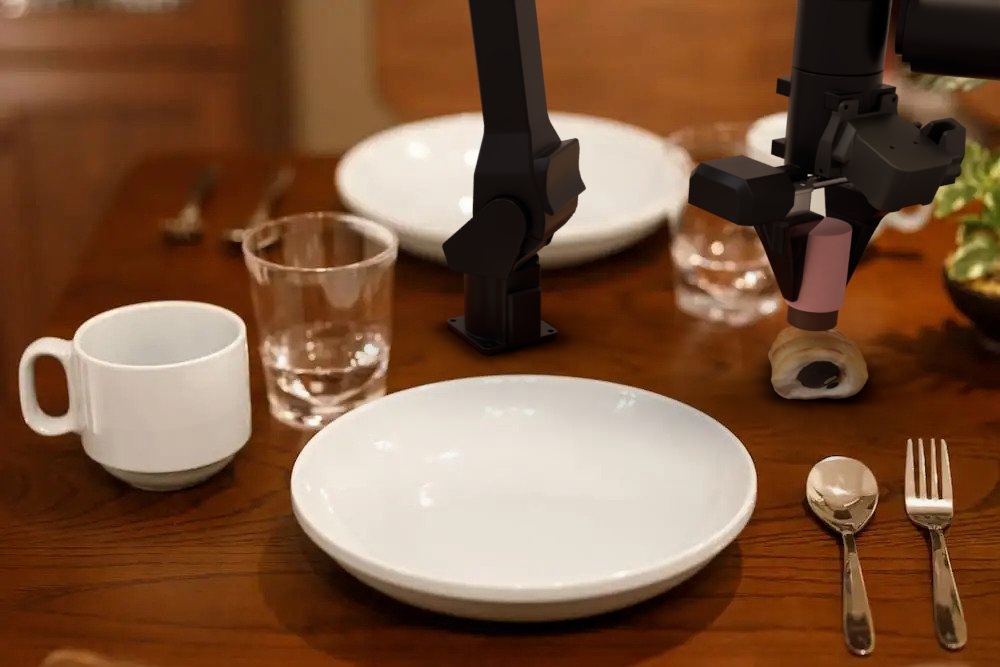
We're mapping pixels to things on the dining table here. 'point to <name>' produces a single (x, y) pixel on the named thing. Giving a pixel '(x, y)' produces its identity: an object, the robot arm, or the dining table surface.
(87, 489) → the dining table surface
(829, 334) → the pastry
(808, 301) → the bottle
